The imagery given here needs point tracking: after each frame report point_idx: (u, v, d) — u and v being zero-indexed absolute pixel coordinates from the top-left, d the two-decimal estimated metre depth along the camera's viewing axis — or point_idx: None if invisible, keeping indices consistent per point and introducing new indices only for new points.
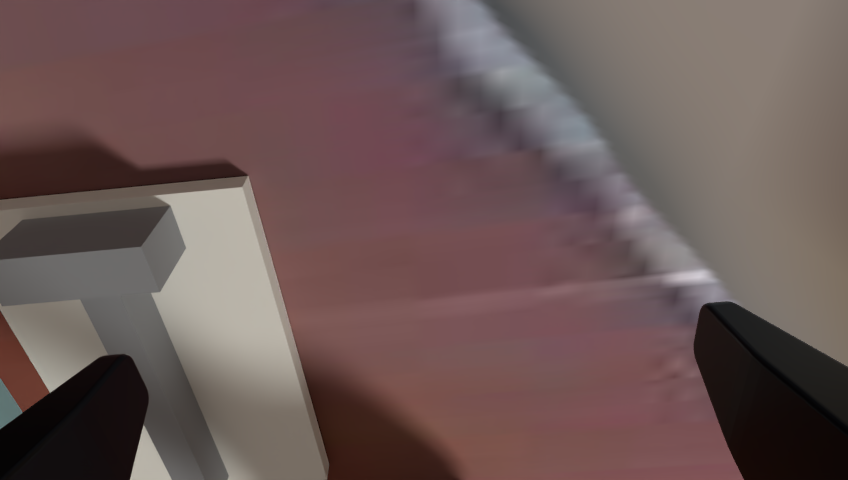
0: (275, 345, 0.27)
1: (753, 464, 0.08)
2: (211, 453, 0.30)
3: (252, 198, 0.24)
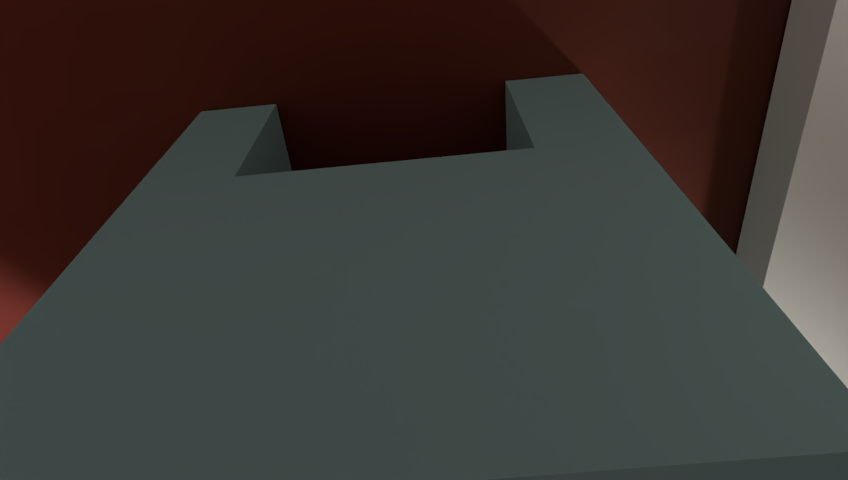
0: None
1: None
2: None
3: None
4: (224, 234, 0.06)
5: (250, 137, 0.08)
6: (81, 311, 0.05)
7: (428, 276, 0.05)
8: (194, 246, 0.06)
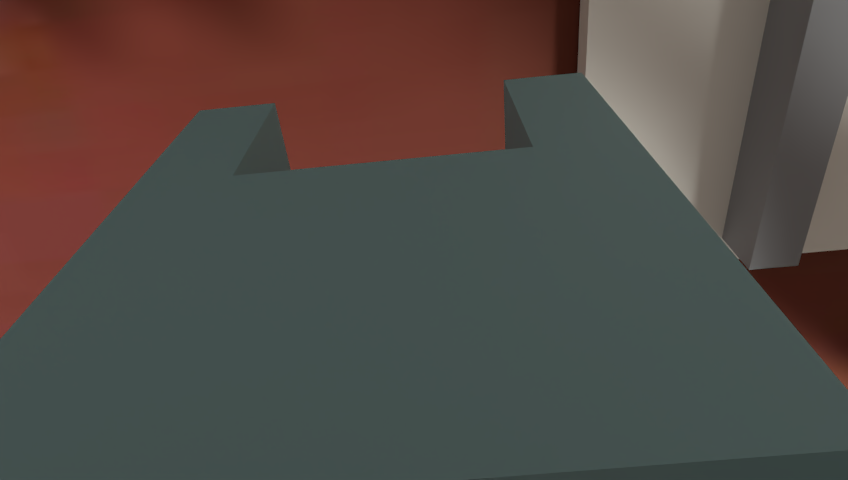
0: None
1: None
2: None
3: None
4: (221, 233, 0.06)
5: (248, 136, 0.08)
6: (78, 310, 0.05)
7: (426, 275, 0.05)
8: (191, 245, 0.06)
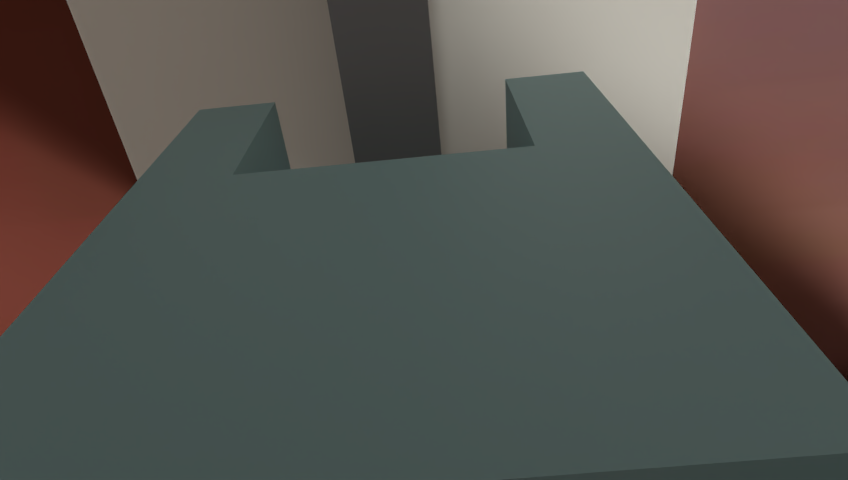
0: None
1: None
2: None
3: None
4: (221, 231, 0.06)
5: (248, 135, 0.08)
6: (76, 310, 0.05)
7: (428, 275, 0.05)
8: (191, 245, 0.06)
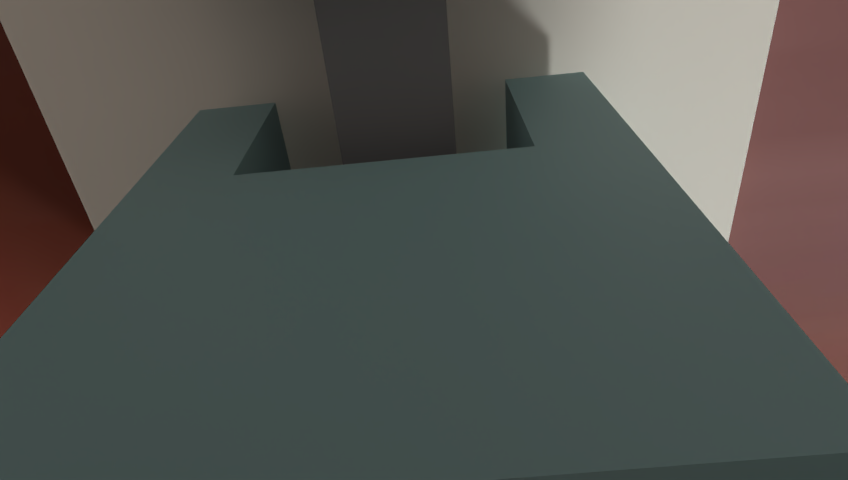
0: None
1: None
2: None
3: None
4: (222, 233, 0.06)
5: (249, 136, 0.08)
6: (78, 310, 0.05)
7: (427, 275, 0.05)
8: (192, 245, 0.06)
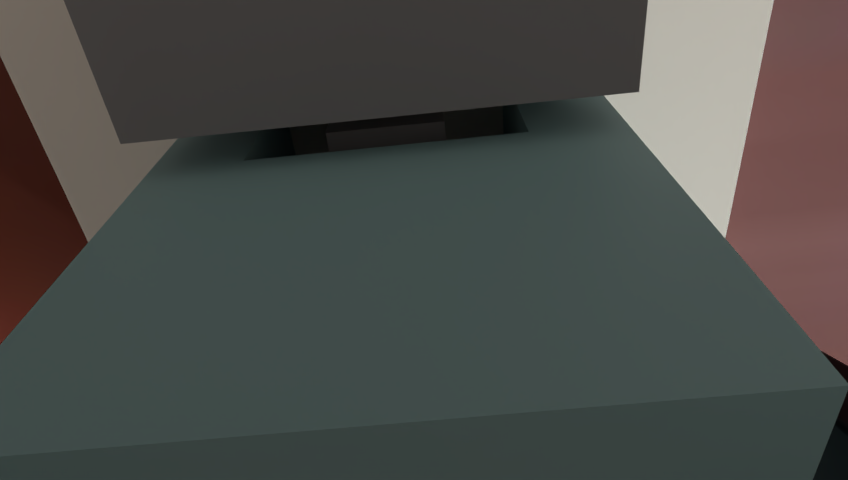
0: None
1: None
2: None
3: None
4: (234, 211, 0.06)
5: None
6: (104, 281, 0.05)
7: (428, 247, 0.05)
8: (207, 223, 0.06)
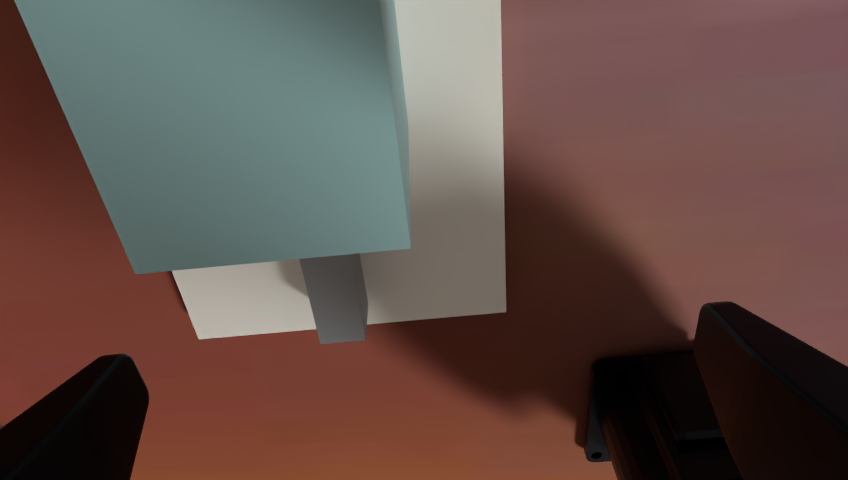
0: (481, 56, 0.18)
1: (753, 464, 0.08)
2: (356, 256, 0.20)
3: None
4: None
5: None
6: None
7: None
8: None
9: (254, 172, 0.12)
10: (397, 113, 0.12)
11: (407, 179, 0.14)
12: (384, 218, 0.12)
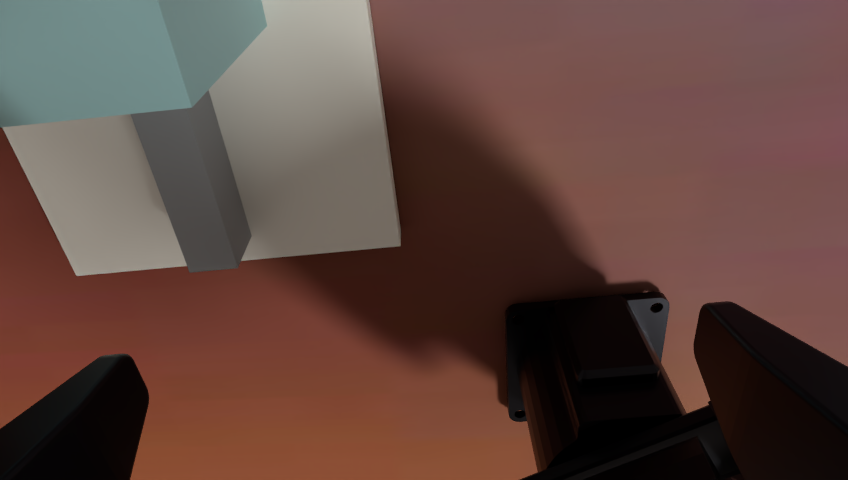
0: None
1: (753, 464, 0.08)
2: (226, 176, 0.19)
3: None
4: None
5: None
6: None
7: None
8: None
9: None
10: None
11: (216, 50, 0.13)
12: (153, 68, 0.11)
